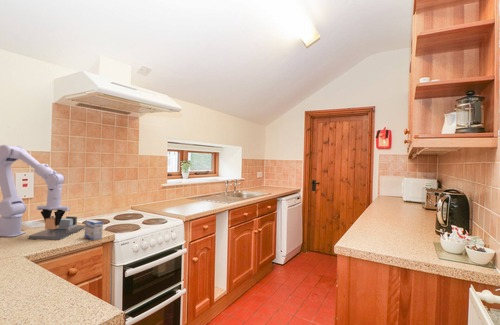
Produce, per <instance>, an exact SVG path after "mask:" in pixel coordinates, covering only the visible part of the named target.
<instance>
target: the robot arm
mask: <svg viewBox="0 0 500 325" xmlns="http://www.w3.org/2000/svg"><path fill="white" fill-rule="evenodd" d="M18 160H21V161H22V162H24V163H25V164H26V165H29V166H30V167H31V168H33V169H34V173H35V174H37V175H38V177H39V176H40V177H41V179H43V180H44V182H45V184H46V185H47V191H46V192H47V193H46V194H47V195H46V205H37V206H36V211H40V214H41V216H42V217H43V221H45V220H46V219H47V218H50V217H51V216H52V214H53V213H54V217H55V226H57V225H59V224H60V221H61V218H63V216H64V215H65V213H66V212H69V211H70V209H71V207H70V206H64V205H62V204H61V203H62V192H63V190H62V189H63V187H62V186H63V184H64V183H65V181H66V180H65V176H64V175H63V174H62V173H60V172H57V171H56V170H54V169H52V168H51V167H50V165H49V164H47V163H40V162H39V161H38V160H37V159H36V158H35V157H33V156H32V155H31V154H30V153H29V152H28V151H27V150H26V149H24V148H23V146H20V145H6V144H2V145H0V189H1V196H2V200H1V201H0V237H7V238H8V237H9V238H12V237H13V238H14V237H17V236H21V235H23V234H26V231H22V225H23V224H22V223H23V215H24V214H25V212H27V205H26V203H25V202H24V200H23V198H21V197H20V196H19V195H18V191H17V187H16V183H15V178H14V175H13V171H12V167H11V166H12V165H13V164H14V163H15V162H17V161H18Z"/></svg>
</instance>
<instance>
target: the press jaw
mask: <svg viewBox="0 0 500 325" xmlns="http://www.w3.org/2000/svg"><path fill="white" fill-rule="evenodd" d="M77 221H78V217H77V216H68V215H67V216H66V217H64V218H63V217H62V218H61V221H60V224H59V228H56V229H66V227H69V226H72V225H74V224H77V225H78V223H77Z"/></svg>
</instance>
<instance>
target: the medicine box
mask: <svg viewBox="0 0 500 325" xmlns="http://www.w3.org/2000/svg"><path fill="white" fill-rule="evenodd" d="M84 225H85V229H84V238H85V237H86V238H85V239H87V238H89V240H91V239H92V241H97V240H101V239H102V237H103V228H104V227H103V226H104V222H103V221H100V220H96V219H88V220H87V219H86V220H85V224H84Z"/></svg>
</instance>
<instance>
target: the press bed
mask: <svg viewBox="0 0 500 325" xmlns="http://www.w3.org/2000/svg"><path fill="white" fill-rule="evenodd" d="M84 228H85V224H83V225H81V224H78V223H77V224H74V225H72V226H69V227H66V229H44V230H41V231H39V232H36V233H32V234H29V235H28V239H29V240H49V241H53V240H55V241H61V240H63V239H65V238H67V237H69V235H70V236H71V234H72V235H74V234H77V233H79V232H81V231H83V230H85V229H84ZM82 229H83V230H82ZM80 230H81V231H80ZM78 231H79V232H78ZM73 233H74V234H73Z"/></svg>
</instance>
